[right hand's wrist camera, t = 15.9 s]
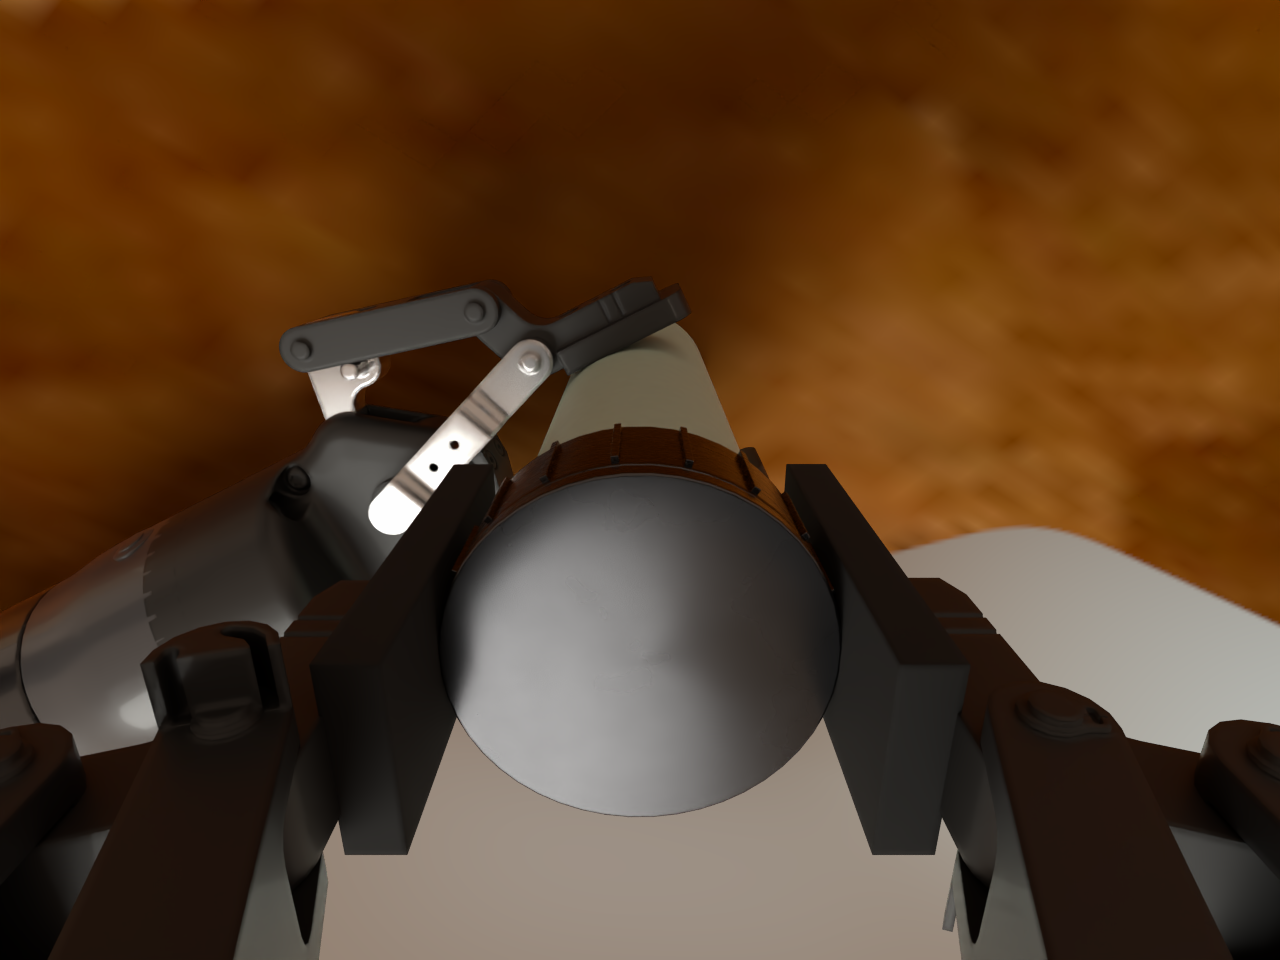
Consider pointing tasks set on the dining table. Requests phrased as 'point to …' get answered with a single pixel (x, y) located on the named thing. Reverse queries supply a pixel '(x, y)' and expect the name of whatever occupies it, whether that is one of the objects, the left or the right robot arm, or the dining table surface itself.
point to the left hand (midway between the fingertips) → (722, 386)
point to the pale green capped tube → (643, 392)
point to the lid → (639, 625)
